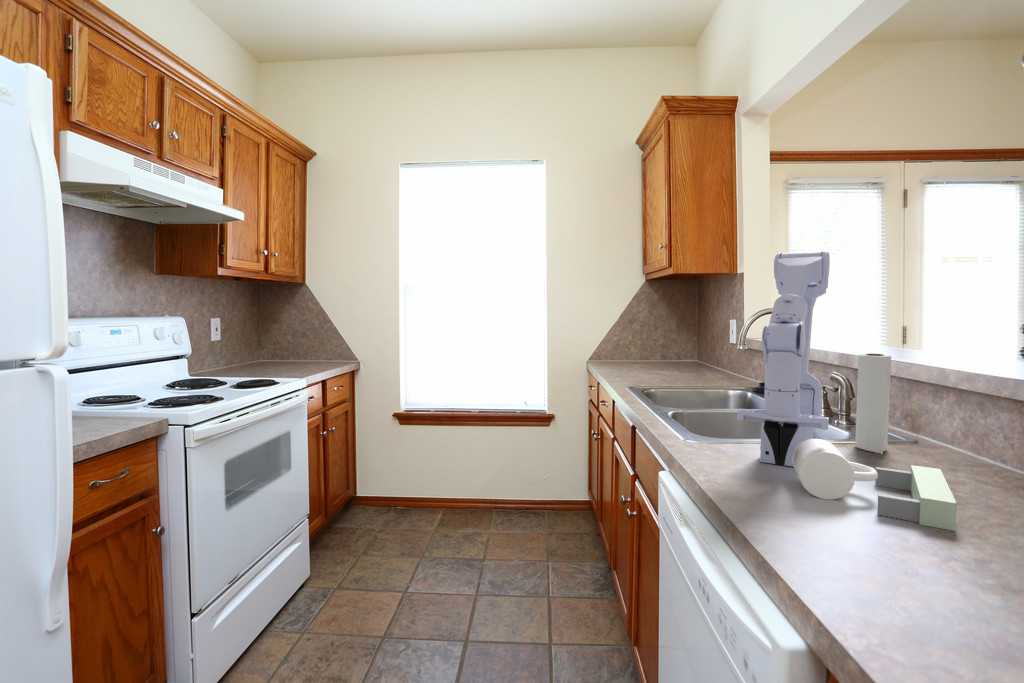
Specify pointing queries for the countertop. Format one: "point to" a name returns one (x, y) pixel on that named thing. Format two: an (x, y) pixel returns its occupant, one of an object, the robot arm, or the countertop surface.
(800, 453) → the mug
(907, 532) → the countertop surface
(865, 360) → the paper towel roll
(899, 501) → the green forked block
